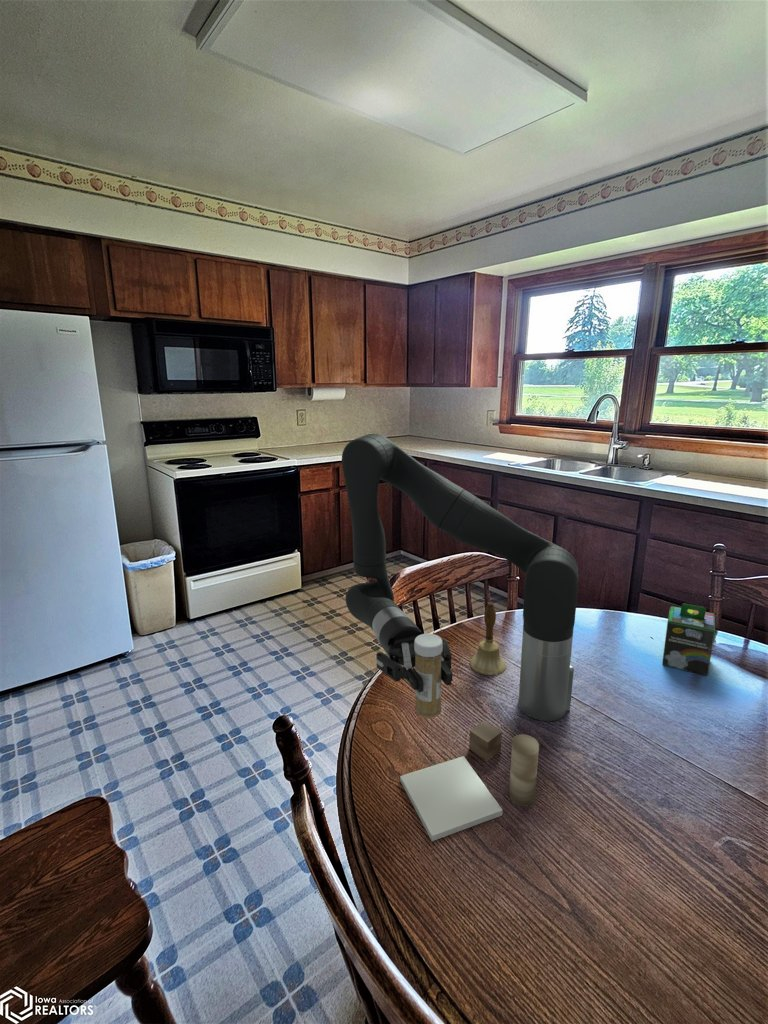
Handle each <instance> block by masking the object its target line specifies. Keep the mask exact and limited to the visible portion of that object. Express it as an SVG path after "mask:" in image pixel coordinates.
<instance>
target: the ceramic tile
mask: <svg viewBox="0 0 768 1024" xmlns="http://www.w3.org/2000/svg"><path fill="white" fill-rule="evenodd" d="M399 780H400V783H401V785H402V787H403V788H404V791H405V793H406V795H407V796H408V798H409V800H410V802H411V804H412V806H413V808H414V810H415V812H416V813H417V816H418V818H419V819H420V821H421V823H422V825H423V827H424V829H425V831H426V833H427V834H428V836H429V839H430V841H431V842H434V841H436V840H439V839H442V838H444V837H447V836H450V835H453V834H456V833H459V832H461V831H463V830H466V829H469V828H473V827H474V826H477V825H479V824H482V823H486V822H488V821H490V820H493V819H497V818H499V817H501V816H503V813H504V812H503V809H502V807H501V806H500V805H499V803H498V801H497V800H496V799H495V797H494V796H493V794H492V793H491V792H490V791H489V789H488V788H487V786H486V785H485V784H484V782H483V781H482V780H481V778H480V777H479V775H478V774H477V773H476V771H475V770H474V769H473V767H472V766H471V764H470V763H469V762H468V760H467V758H466V757H465V756H464V755H463V756H459V757H456V758H453V759H450V760H447V761H443V762H440V763H437V764H434V765H431V766H428V767H425V768H424V767H423V768H422V769H418V770H415V771H412V772H409V773H406V774H405V773H404V774H402V775H400V777H399Z"/></svg>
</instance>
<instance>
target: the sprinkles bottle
mask: <svg viewBox="0 0 768 1024" xmlns="http://www.w3.org/2000/svg"><path fill="white" fill-rule="evenodd" d="M442 639H443V638H441V636H439V635H437V634H433V633H422V634H421V635H419V636H417V637H416V638H415V641H414V650H415V667H414V669H415V670H416V672H417V673H418V674H419V675H420V677H421V678H422V679H423V683H424V690H423V692H418V691H417V690H414V694H415V705H414V710H415V713H416V714H417V715H418V716H420V717H422V718H424V719H432V718H436V717H438V716H439V715H440V714H441V712H442V679H441V653H442V647H443V645H442Z"/></svg>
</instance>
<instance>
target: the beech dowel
mask: <svg viewBox="0 0 768 1024" xmlns="http://www.w3.org/2000/svg"><path fill="white" fill-rule="evenodd" d="M539 748H540V743H539V742H538V740H537V739H535V738H534V737H533V736H531V735H529V734H518V735H515V736H514V737H513V738H512V740H511V752H510V753H511V755H510V771H509V773H510V774H509V790H508V794H509V795H508V797H509V798H510V800H511V801H512V802H513V803H514V804H516V805H518V806H521V807H529V806H531V805H533V804H534V802H535V800H536V790H537V789H536V788H537V787H536V786H537V776H538V763H539V762H538V761H539V750H540V749H539Z"/></svg>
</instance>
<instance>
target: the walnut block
mask: <svg viewBox="0 0 768 1024" xmlns="http://www.w3.org/2000/svg"><path fill="white" fill-rule="evenodd" d="M502 735H503V731H502V730H500V729H498V728H497V727H495V726H493V725H492V724H490V723H489V722H488V721H486V720H483V721H481V722H480V723H478V724H477V725H476V726H474V727H473V728H471V729H470V730H469V747H468V748H469V749H468V750H469V751H470V750H471V751H472V752H473V753H475V754H476V755H478V756H479V757H480V758H482V759H483V758H484V759H483V760H484V761H486V762H488V761H489V760H491V759H492V758H493V757H495V755H497V754H498V753H499V752H501V750H502V738H503V737H502ZM491 757H492V758H491Z"/></svg>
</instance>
